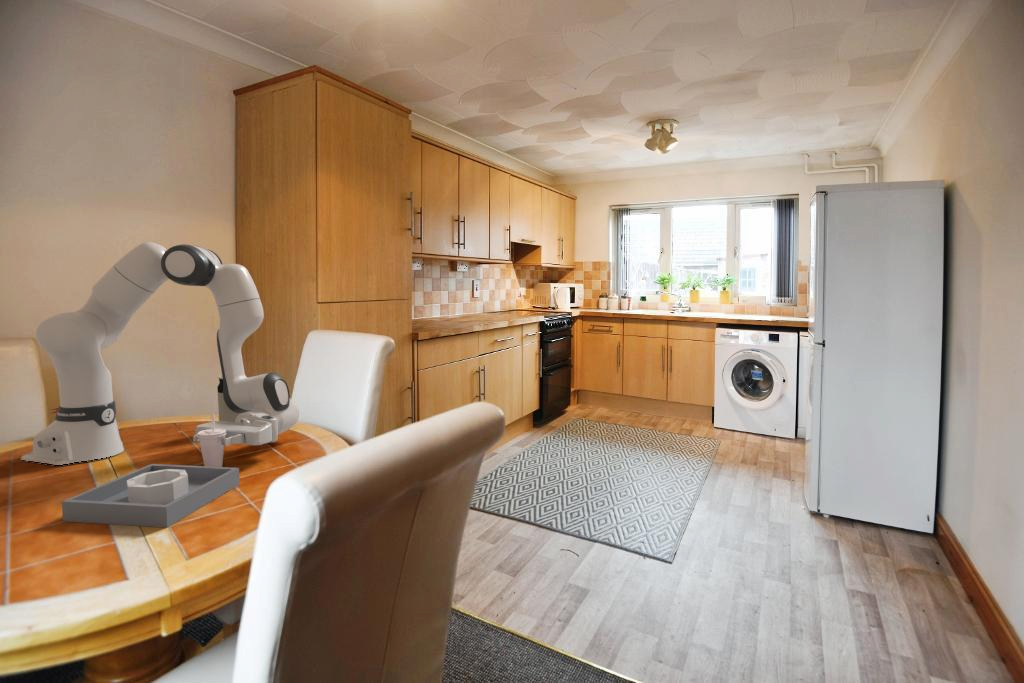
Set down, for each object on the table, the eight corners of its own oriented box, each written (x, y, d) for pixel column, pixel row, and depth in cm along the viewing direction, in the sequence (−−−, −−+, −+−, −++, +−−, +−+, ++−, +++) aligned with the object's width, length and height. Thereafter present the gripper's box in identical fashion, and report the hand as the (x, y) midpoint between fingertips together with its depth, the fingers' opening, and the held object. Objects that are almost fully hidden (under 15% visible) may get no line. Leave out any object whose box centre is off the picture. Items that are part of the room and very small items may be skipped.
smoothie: (215, 474, 127) (212, 418, 125) (192, 472, 128) (189, 416, 127) (234, 465, 133) (231, 412, 132) (212, 463, 134) (209, 411, 133)
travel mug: (239, 435, 161) (237, 377, 159) (214, 434, 161) (211, 377, 159) (252, 428, 169) (250, 373, 167) (228, 427, 169) (225, 373, 167)
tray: (63, 521, 101) (61, 495, 100) (152, 480, 123) (151, 458, 122) (167, 527, 99) (165, 501, 98) (239, 484, 120) (238, 462, 120)
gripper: (220, 412, 145) (176, 425, 132) (281, 418, 139) (241, 431, 126) (221, 435, 145) (177, 449, 132) (282, 441, 140) (242, 457, 127)
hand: (209, 440), depth 129 cm, fingers open, 7 cm apart
